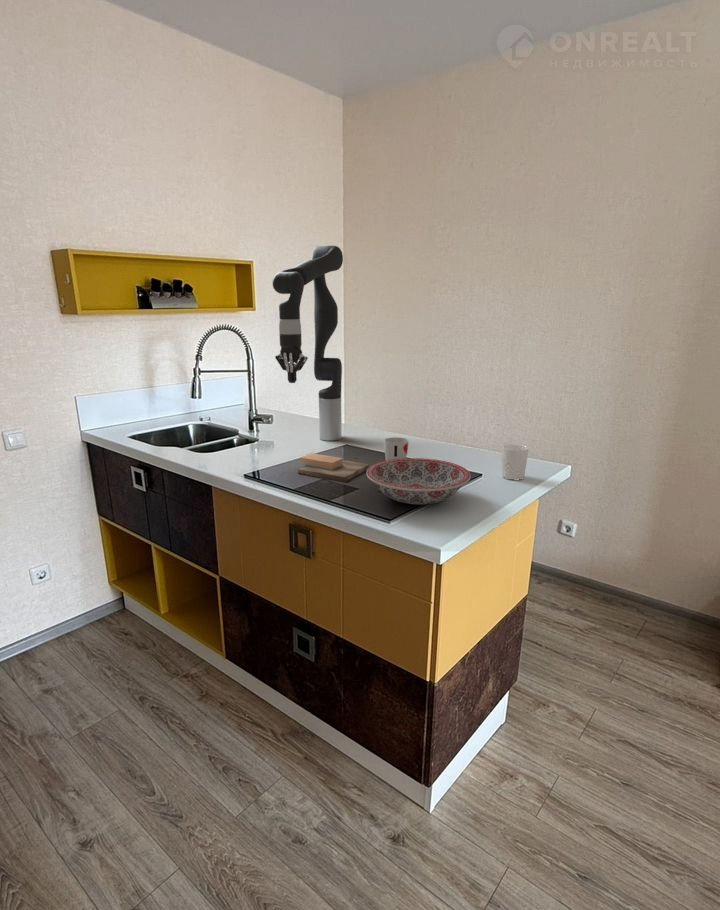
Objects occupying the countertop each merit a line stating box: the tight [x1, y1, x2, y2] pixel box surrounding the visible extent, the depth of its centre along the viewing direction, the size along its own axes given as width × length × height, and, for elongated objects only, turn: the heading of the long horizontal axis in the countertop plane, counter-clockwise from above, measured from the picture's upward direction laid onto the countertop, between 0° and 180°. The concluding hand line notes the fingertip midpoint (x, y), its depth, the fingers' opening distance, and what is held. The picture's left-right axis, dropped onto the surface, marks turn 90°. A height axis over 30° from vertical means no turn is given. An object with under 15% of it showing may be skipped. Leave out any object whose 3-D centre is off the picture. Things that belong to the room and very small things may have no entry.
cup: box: [383, 436, 409, 461], centre depth 176 cm, size 8×8×10 cm
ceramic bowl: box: [365, 457, 472, 505], centre depth 148 cm, size 29×29×8 cm
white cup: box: [501, 443, 529, 480], centre depth 167 cm, size 8×8×10 cm
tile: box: [299, 452, 344, 470], centre depth 176 cm, size 6×2×13 cm
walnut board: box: [297, 459, 370, 483], centre depth 175 cm, size 16×18×2 cm
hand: (292, 382), depth 186 cm, fingers closed
